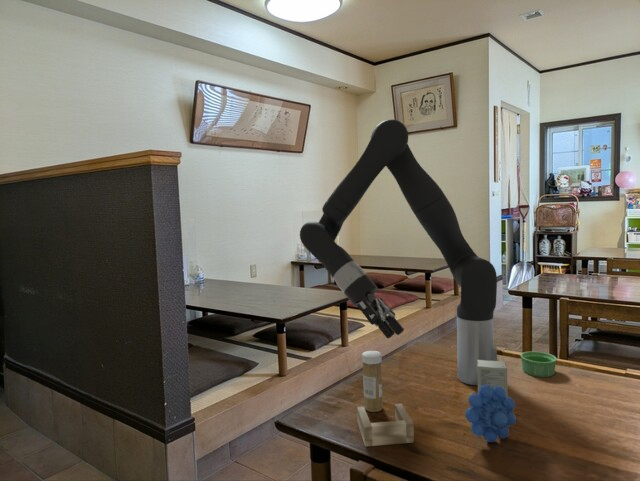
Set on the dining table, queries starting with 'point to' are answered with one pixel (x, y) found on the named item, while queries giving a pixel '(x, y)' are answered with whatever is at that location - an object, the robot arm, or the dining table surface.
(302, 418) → the dining table surface
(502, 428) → the blue bumpy cluster
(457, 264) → the robot arm
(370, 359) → the spice jar
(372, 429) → the pocket
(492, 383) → the skincare box
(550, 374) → the ramekin
